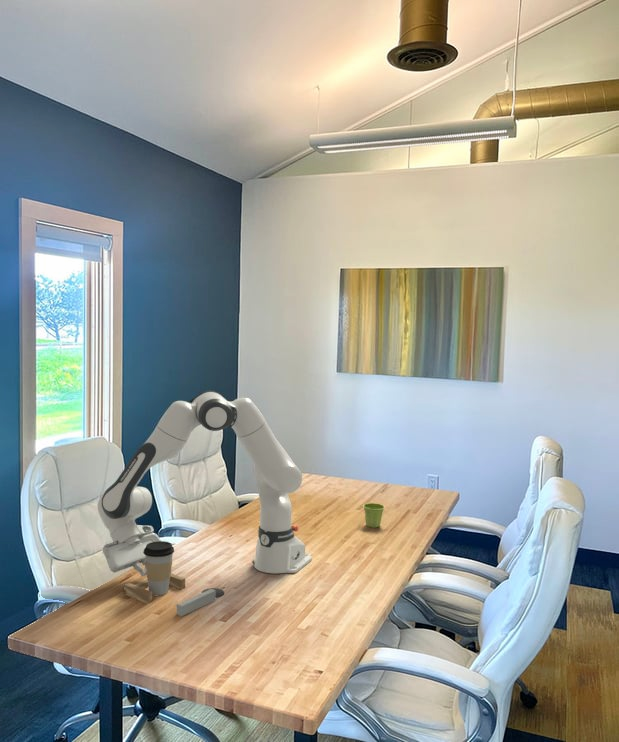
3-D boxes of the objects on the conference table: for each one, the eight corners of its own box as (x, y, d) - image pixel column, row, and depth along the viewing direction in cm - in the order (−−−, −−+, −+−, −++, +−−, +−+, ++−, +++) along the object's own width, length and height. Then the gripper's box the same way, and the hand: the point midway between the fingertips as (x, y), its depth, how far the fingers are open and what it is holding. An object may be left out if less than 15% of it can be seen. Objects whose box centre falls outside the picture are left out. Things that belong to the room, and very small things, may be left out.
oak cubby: (161, 578, 206) (162, 569, 206) (185, 587, 200) (185, 578, 199) (123, 593, 193) (124, 584, 193) (147, 603, 187) (147, 594, 187)
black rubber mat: (212, 586, 201) (212, 586, 201) (228, 592, 197) (228, 592, 197) (196, 594, 195) (196, 593, 195) (213, 600, 191) (213, 599, 191)
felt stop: (210, 598, 192) (210, 588, 192) (215, 600, 191) (215, 590, 191) (176, 614, 181) (177, 604, 181) (181, 616, 180) (181, 606, 179)
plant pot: (383, 523, 274) (384, 503, 273) (384, 529, 265) (385, 509, 264) (362, 521, 275) (363, 502, 274) (362, 528, 265) (363, 508, 265)
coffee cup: (178, 588, 199) (179, 542, 198) (164, 600, 190) (165, 552, 189) (152, 584, 201) (153, 538, 200) (136, 595, 192) (137, 548, 191)
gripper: (104, 540, 194) (124, 579, 189) (155, 525, 211) (175, 560, 206) (96, 551, 197) (115, 589, 192) (147, 535, 213) (166, 569, 208)
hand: (146, 574), depth 199 cm, fingers closed
